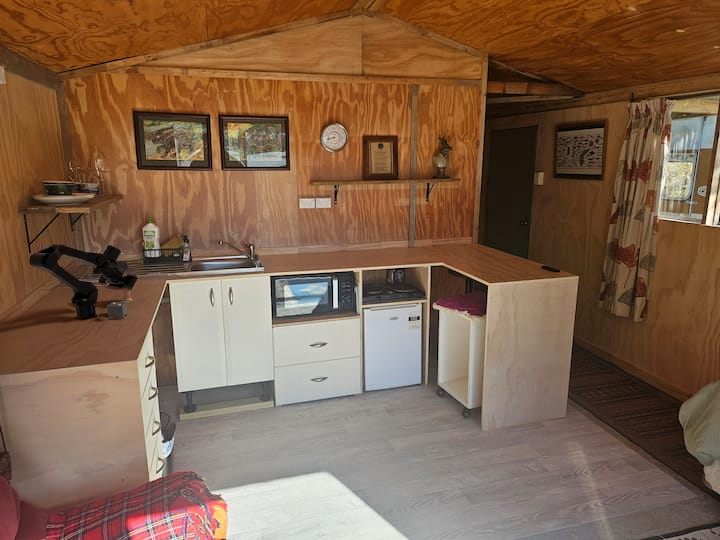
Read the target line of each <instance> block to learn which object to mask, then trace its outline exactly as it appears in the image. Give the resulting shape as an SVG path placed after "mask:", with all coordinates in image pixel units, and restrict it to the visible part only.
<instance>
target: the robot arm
mask: <svg viewBox="0 0 720 540" xmlns="http://www.w3.org/2000/svg"><path fill="white" fill-rule="evenodd" d="M121 254H122V251H121V249H120V248H117V247H115V246H113V245H112V244H108V245H107V246H106V248H105V250H104V251H103V253H101V252H91V251H90V252H89V251H84V250H80V249H77V248H73V247H70V246H68V245H67V246H66V245H64V244H59V243H54V244H51V245H50V246H48V247H46V248H43V249H40V250H39V251H37V252H33V253H32V254H31V255H30V256H29V259H28V261H29V265H30V266H31V267H33V268H35V269H38V270H41V271H44V272H46V273H49V274H50V275H51V276H52V277H54V278H56V279H57V280H58V281H60V282H62V283H63V284H64V285H66V286H67V287H68V288H70V289H72V292H73V294H74V295H73V296H72V298H71V303H72V304H73V305H75V311H76V312H75V313H76V315H75V316H74V318H75V319H78V320H80V321H84V320H85V321H86V320H89V319H93V318H96V317H97V318H98V315H96V314H97V312H96V310H97V309H96V305H95V304H97V303H98V297H99V289H98V288H97V285H95V284H93V283H92V282H91V281H88V280H87V281H86V280H80V279H79V278H77V277H76V276H74V275H73V274H71V273H70V272H69V271H67V270H66V269H65V268H64V267H62V266H60V264H59V262H58V261H59V260H60V259H61V258H62V256H64V257H67V258H71V259H75V260H78V261H80V262H81V263H82V264H85V265H88V266H93V270H92V274H94V275H100V274H101V276H100V278H99V279H98V283H99V284H100V285H101V286H106V285H107V284H108V287H113V288H117V289H121V290H123V288H124V289H128V290H130V291H132V290H133V287H134V286H135V284H136V283H137V280H138V275H136V274H126V275H127V276H124V277H123V275H124V274H125V273H126V271H127V270H128V269H129V268H130V266H129V265H128V263H127V261H117V260H118V259H119V257H120V256H121ZM124 272H125V273H124Z"/></svg>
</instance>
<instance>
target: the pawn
mask: <svg viewBox="0 0 720 540" xmlns="http://www.w3.org/2000/svg"><path fill="white" fill-rule="evenodd" d="M122 293H123V295H122V296H123V298H122V301H124V302H125V301H129V302H131V300H132V301H133V299H132V296H131V290H128V289H124V288H123V289H122Z"/></svg>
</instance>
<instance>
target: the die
mask: <svg viewBox="0 0 720 540" xmlns="http://www.w3.org/2000/svg"><path fill="white" fill-rule="evenodd" d="M106 309H107V317H108V321H112V320H114V321H117V320H124V319H126V318H127V316H128V314H127V312H128V310H127V302H125V301H124V302H120V301H117V302H110V303H109V304H108V305H107V308H106Z"/></svg>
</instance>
